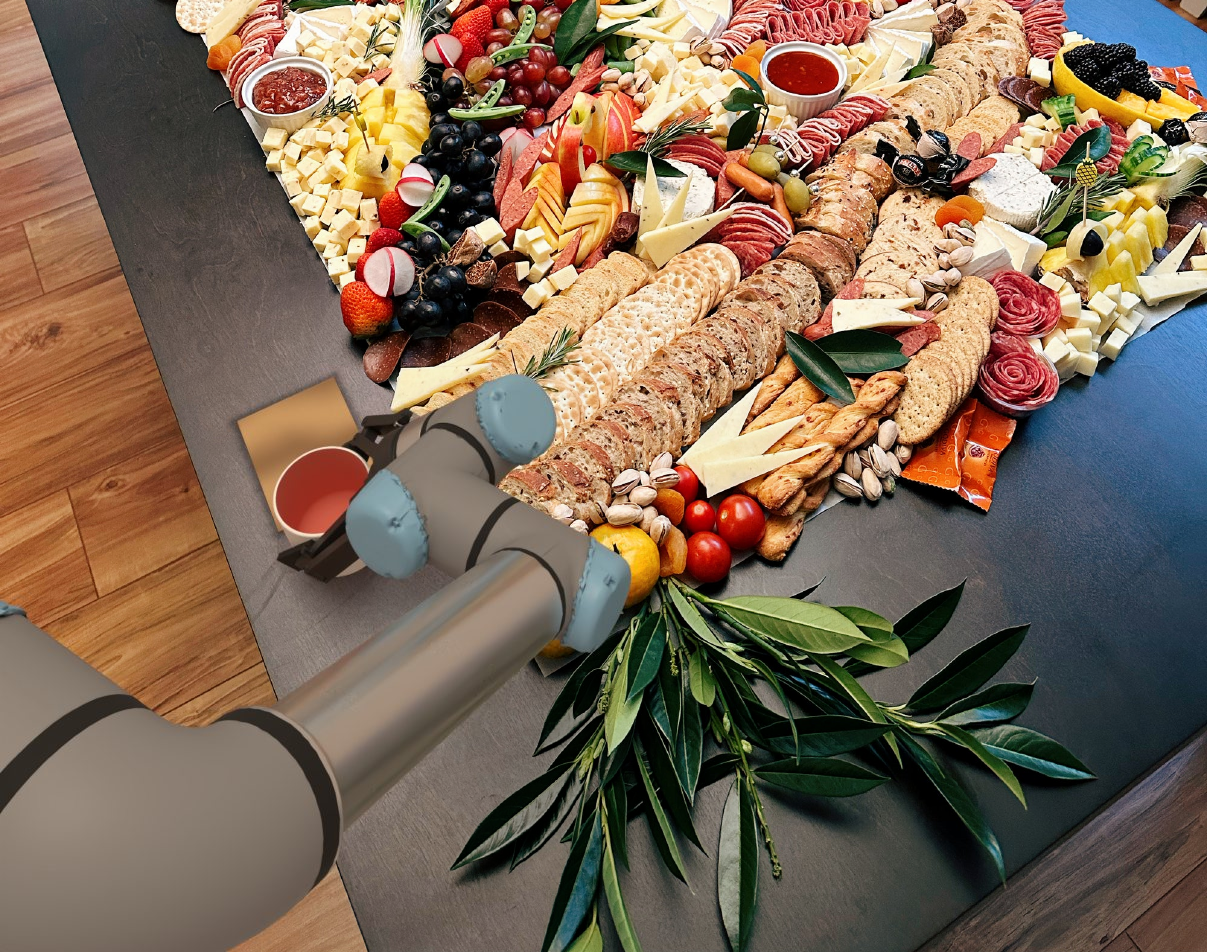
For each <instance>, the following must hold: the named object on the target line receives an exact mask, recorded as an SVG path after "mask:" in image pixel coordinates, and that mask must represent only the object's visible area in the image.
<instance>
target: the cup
mask: <svg viewBox="0 0 1207 952" xmlns="http://www.w3.org/2000/svg"><path fill="white" fill-rule="evenodd" d="M369 470H370V468H369V466H368V464H367V463H366V461H365V460H364V459H363V458H362V457H361V456H360V455H359V454H357V453H356V452H354V451H352V450H350V449H347V448H343V447H336V446H329V447H322V448H318V449H314V450H312V451H309V452H307V453H305V454H303V455H301V456H300V457H298V458H297V459H296V460H294V461H293V462H292V463H291V464H290V465H289V466H288V467H287V468H286V469H285V470H284V472H283V473H282V474H281V476H280V478H279V480H278V482H277V484H276V487H275V490H274V495H273V508H274V512H275V515H276V517H277V519H278V521H279V523H280V525H281V527H282V529H283V532H284V534H285V537H286V538H287V540H288V542H289V544H290V546H291V548H292V547H294V546H297V545H299V544H301V543H304V542H306V541H309V540H311V539H312V540H314V541H315V542H316V541H317V540H318V539H319V538H320V537H321V536H322V535H323V534H324V533H325V532H326V531H327V530H328V529H329V528H330V526H331V525H332V524H333V523H334V522H335V521H336V520H337V519H338V518H339V517H340V516H341V515H342V514H343V513H344V512H345V511H346V509H347V508H348V507H349V500H350V498H351V497H352V496H353V495H354V494H355V493H356V492H357V491H358V490H359V489H360V488H361V487H362V486H363V484H364V480H365V479H366V478H367V477H368V473H369ZM366 566H367V565H366V564H365V563H364V562H363V561H362V560H361V559H360V558H359V559H358V560H357V561H356V562H354V563H353V564H352V565H350V566H349V567H348V568H346V569H345V570H344V571H343V572H341V573H340V574H339V575H337V576H336V577H335V578H339V577H345V576H348V575H352V574H354V573H356V572H358V571H360V570H362V569H363V568H365V567H366Z"/></svg>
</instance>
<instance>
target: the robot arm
mask: <svg viewBox="0 0 1207 952" xmlns="http://www.w3.org/2000/svg"><path fill="white" fill-rule="evenodd" d="M552 401H553V400H552V399H551V398H550V396H549V394H548V393H547V392H546V390H545V389H544V387H543V386H542V385H541V384H540V383H538V381H536V380H535V379H533V378H532V377H529V376H528V375H524V374H520V373H509V374H505V375H503V376H501V377H497V378H495V379H491V380H486V381H484V382H483V383H482V384H481V385H480V386H478V387H476V388H475V389H473V390H471V391H468V392H467V393H465V394H463V395H461V396H459V397H457V398H455V399H454V400H451V401H450V402H448V403H446V404H444V405H442V406H440V407H438V408H435V409H433V410H431V411H429V412H426V413H424V414H422V415H419V414H417V413H416V412H414V411H413V410H411V409H410V408H407V407H404V408H403V409H401V410H399V411H397V412H396V413H388V414H386V413H385V414H371V415H366V416H364V417H363V418H362V421H361V422H360V426H361V427H363V428H362V430H361V431H359V432H358V433H356V434H355V435H354V437H353V439H352V440H350V441H348V442H346V443H345V444H344V445H342V447H343V448H347V449H350V450H352V451H354V452H356V453H357V454H359V455H360V456H361V457H362V458H363V459H364V460H365V461H366V462H368V460H369V457H371V459H372V461H373V464H372V465H371V467H370V470H369V473H368V477H367V478H366V479H365V480H364V484H363V486H362V487H361V488H360V489H359V490H358V491H357V492H356V493H355V494H354V495H353V496H352V497H351V498H350V500H349V507H348V508H347V509H346V511H345V512H344V513H343V514H342V515H341V516H340V517H339V518H338V519H337V520H336V521H335V522H334V523H333V524H332V525H331V526H330V528H329V529H328V530H327V531H326V532H325V533H324V534H323V535H322V536H321V537H320V538H319V539H318V540H317V541H316V542H315V541H314V540H312V539H311V540H309V541H306V542H304V543H301V544H299V545H297V546H294V547H292V546H291V547H290V548H288V549H286V550H282V551H281V552H278V555H277V558H276V562H279V563H280V564H283V565H284V566H287V567H288V568H290V569H293V570H294V571H297V572H301V571H303V574H305V575H307V576H309V577H310V578H312V579H314V580H316V581H318V582H320V583H322V584H324V585H327V584H328V583H330V582H331V581H333V579H335V578H337V577H336V576H337V575H339V574H340V573H341V572H343V571H344V570H345V569H346V568H348V567H349V566H350V565H352V564H353V563H354V562H356V561H357V560H358V559H359V558H360V559H361V560H362V561H363V562H364V563H365V564H366V566H367V567H368V568H369V569H370V570H371V571H373V572H374V573H376V574H378V575H379V576H382V577H383V578H386V579H389V578H394V579H395V580H404V579H405V580H406V579H408V578H410V577H412V576H413V575H414V574H415V573H416V572H418V571H421V570H422V569H424V567H425V566H426V564H427V565H430V566H432V567H433V568H434V569H437V570H438V571H440V572H441V573H444V574H445V575H447V576H449V577H451V579H453V580H452V581H451V582H450V583H448V584H446V585H445V586H444V587H442V588H441V589H439V590H437V591H436V592H435V593H433V594H432V595H431V596H429V597H428V598H426V599H425V600H424V601H422V602H421V603H419V604H417V605H416V606H415V607H413V608H412V609H410V610H409V611H407V612H406V613H405V614H403V615H401V616H400V617H399V618H397V619H396V620H394V621H393V622H391V623H390V624H388V625H387V626H386V627H384V628H382V629H381V630H380V631H378V632H377V633H375V634H374V635H372V636H371V637H370V638H368V639H367V640H365V641H364V642H362V643H361V644H359V645H358V646H356V647H355V648H354V649H352V650H351V651H349V652H348V653H346V654H345V655H344V656H342V657H341V658H339V659H337V660H336V661H334V662H333V663H331V664H330V665H329V666H327V667H326V668H325V669H323V670H321V671H320V672H319V673H317V674H316V675H314V676H313V677H311V678H310V679H308V680H307V681H305V682H304V683H302V684H301V685H300V686H298V687H297V688H295V689H294V690H292V691H291V692H290V693H288V694H287V695H285V696H284V697H282V698H280V699H279V700H278V701H276V702H275V703H274V704H272V705H270V706H269V707H266V706H263V705H245V706H244V705H243V706H239V707H237V708H233V709H232V710H229V711H228V712H225V713H224V714H223V715H221V716H220V717H219V718H217V719H215V720H214V721H212V722H211V723H210V724H208V725H206V726H194V727H190V726H186V725H182V724H178V723H175V722H172V721H170V720H168V719H167V718H166V717H165V718H164V716H161V715H159V714H158V713H156V711H154V710H153V709H151V708H150V707H148V706H147V705H146V704H145V703H143V702H142V701H141V700H139V699H138V698H136V697H135V696H133V695H132V694H131V693H129V691H127V690H125V689H124V688H122V687H121V686H120V685H118V684H117V683H116V682H114V681H113V680H112V679H110V678H109V677H108V676H106V675H105V674H104V673H102V672H101V671H99V670H98V669H97V668H95V667H94V666H92V664H90V663H89V662H88V661H86V660H85V659H83V658H82V657H80V656H79V655H77V654H76V653H74V652H73V651H72V650H70V649H69V648H68V647H67V646H65V645H64V644H62V642H59V641H58V640H57V639H55V638H54V637H53V636H52V635H50V634H49V633H48V632H46V631H45V630H43V629H42V628H40V627H39V626H38V625H37V624H36V623H34V622H32V621H31V620H29V617H28V616H27V615H28V614H27V611H26V610H25V609H23V608H22V607H21V606H19V605H18V606H17V605H11V604H9V603H7V602H6V601H4V600H3V599H1V598H0V952H228V951H231V950H233V949H234V948H236V947H237V946H239V945H241V944H243V943H245V942H247V941H249V940H250V939H252V938H254V937H256V936H258V935H259V934H261V933H263V932H264V931H265V930H267V929H268V928H269V927H271V926H272V925H273V924H274V923H277V921H279V920H280V919H282V918H284V917H285V916H286V915H287V914H288V913H289V912H290V911H291V910H293V908H295V907H296V906H297V905H298V904H299V903H300V902H301V901H303V899H305V897H306V896H307V895H309V893H310V892H312V891H313V890H314V889H315V888H316V887H317V886H318V885H319V884H320V883H321V882H322V881H324V879H325V878H327V876H328V875H329V874H330V872H331V871H332V869H333V868H334V867H335V864H336V862H337V860H338V859H339V855H340V853H341V849H342V845H343V840H344V839H343V838H344V833H345V832H347V830H348V829H350V828H351V826H352V825H354V824H355V823H356V822H357V821H358V820H359V819H360V818H361V817H362V816H364V815H365V814H366V812H368V810H369V811H370V809H371V808H372V807H373V806H374V805H375V804H376V803H377V802H378V801H380V800H381V799H382V798H383V797H384V796H385V795H386V794H387V793H388V792H389V791H391V790H392V789H393V788H394V787H395V786H396V785H397V784H398V783H399V782H400V781H401V780H402V779H404V778H405V777H406V776H407V775H408V774H409V773H410V772H412V770H414V769H415V768H416V767H417V766H418V765H419V764H420V763H421V762H422V761H423V760H424V759H425V758H426V757H427V756H428V755H429V754H431V753H432V751H434V750H435V749H436V748H438V746H439V745H441V744H442V742H444V740H446V739H447V738H448V737H449V736H450V735H452V733H454V731H456V730H457V729H458V728H459V727H460V726H461V725H463V723H465V721H467V720H468V719H469V718H470V717H471V716H472V715H473V714H474V713H475V712H476V711H478V710H479V708H481V707H482V706H483V705H484V704H485V703H486V702H488V700H489V699H490V698H491V697H493V695H495V694H496V693H497V692H498V691H499V690H500V689H501V688H502V687H503V686H504V685H506V684H507V683H508V682H509V681H510V680H511V679H512V678H513V677H514V676H515V675H516V674H518V673H519V672H520V671H521V670H522V669H523V668H524V667H525V666H526V665H528V663H530V662H531V661H532V660H533V659H534V658H535V657H536V656H537V655H538V654H539V653H541V651H542V650H544V649H545V648H546V647H547V646H549V645H550V644H551V643H552V642H554V641H555V640H557V641H558V642H559V645H561V646H562V647H569V648H572V649H573V650H576V651H577V652H578V653H579V652H580V653H592V652H594V651H596V650H597V649H599V648H600V647H601V646H602V645H603V643H604V642H605V641H606V640H607V639H608V637H609V635H610V634H611V632H612V631H613V629H614V627H615V625H616V623H617V621H618V620H619V618H620V615H621V613H622V611H623V609H624V607H625V605H626V604H625V603H626V601H627V599H628V596H629V592H630V588H631V585H632V569H631V565H630V564H629V562H628V560H626V558H624V557H623V556H622V555H620V554H618V553H617V552H615V551H614V550H612V549H611V548H609V547H607V546H606V545H605V544H604V543H601V542H600V541H598V540H597V539H596V537H595V536H593V535H590V536H589V535H587V534H585V533H583V532H581V531H579V530H578V529H575V528H573V527H572V526H569V525H568V524H566V523H564V522H563V521H561V520H558V519H557V518H555V517H553V516H551V515H549V514H547V513H545V512H543V511H542V510H540V509H538V508H536V507H534V506H533V505H530V504H528V503H527V502H526V501H523V500H521V499H519V498H517V497H515V496H514V495H512V494H510V493H508V492H506V491H504V490H502V489H500V488H499V487H498V486H499V484H501V482H502V481H503V480H504V479H505V478H506V477H507V476H508V475H509V474H510V473H511V472H512V471H514V470H515V469H516V468H517V467H520V466H522V467H523V466H525V465H526V466H527V465H530V464H531V463H532V462H533V460H535V459H537V458H539V457H540V456H542V455H543V454H545V453H546V452H547V451H548V450H549V448H550V447H551V446H552V445H553V442H554V440H555V437H556V433H557V429H558V428H557V427H558V426H557V425H558V420H557V419H558V418H557V413H556V408H555V406H554V404H553V402H552ZM378 437H379V438H381V439H380V441H379V442H376V440H377V439H378Z"/></svg>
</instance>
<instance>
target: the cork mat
mask: <svg viewBox="0 0 1207 952" xmlns="http://www.w3.org/2000/svg"><path fill="white" fill-rule="evenodd" d="M236 423H237V425H238V428H239V430H240V433H241V436H242V439H243V441H244V443H245V446H246V449H247V452H248V454H249V457H250V459H251V462H252V465H253V467H254V471H255V474H256V475H257V478H258V480H259V484H260V486H261V489H262V492H263V494H264V497H265V499H266V502H267V505H268V507H269V510H270V513H271V515H272V518H273V521H274V524H275V527H276V529H277V531H278V533H281V532H284V530H283V529H282V527H281V525H280V523H279V521H278V519H277V517H276V515H275V512H274V508H273V495H274V490H275V487H276V484H277V482H278V480H279V478H280V476H281V474H282V473H283V472H284V470H285V469H286V468H287V467H288V466H289V465H290V464H291V463H292V462H293V461H294V460H296V459H297V458H298V457H300V456H301V455H303V454H305V453H307V452H309V451H312V450H314V449H318V448H322V447H329V446H336V447H342V445H344V444H345V443H346V442H348V441H350V440H352V439H353V437H354V435H355V434H356V433H358V432H359V433H360V430H359V428H358V426H357V424H356V421H355V420H354V418H353V415H352V414H351V411H350V408H349V407H348V404H347V403H346V400H345V398H344V396H343V394H342V391H341V390H340V387H339V385H338V383H337V381H336V379H335V376H332V377H330V378H328V379H325V380H324V381H321V382H319V383H317V384H315V385H313V386H311V387H308V388H306V389H304V390H302V391H300V392H297V393H295V394H293V395H291V396H289V397H287V398H284V399H282V400H280V401H277V402H275V403H273V404H270V405H269V406H267V407H265V408H262V409H260V410H258V411H256V412H254V413H251V414H249V415H247V416H245V417H243V418H240V419H239V420H237V421H236ZM366 463H367V464H368V466H369V468H370V467H371V465H372V464H373V459H372V458H371V457H369V460H368V462H366Z"/></svg>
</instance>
